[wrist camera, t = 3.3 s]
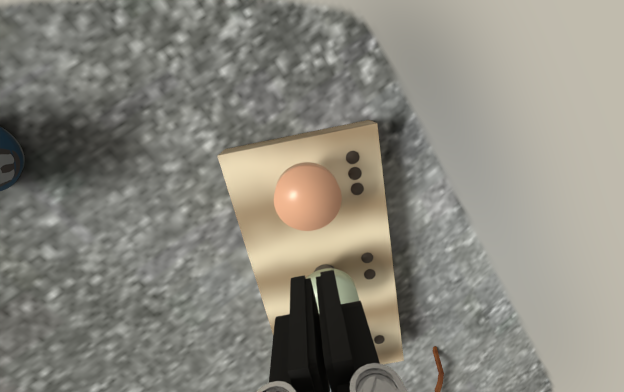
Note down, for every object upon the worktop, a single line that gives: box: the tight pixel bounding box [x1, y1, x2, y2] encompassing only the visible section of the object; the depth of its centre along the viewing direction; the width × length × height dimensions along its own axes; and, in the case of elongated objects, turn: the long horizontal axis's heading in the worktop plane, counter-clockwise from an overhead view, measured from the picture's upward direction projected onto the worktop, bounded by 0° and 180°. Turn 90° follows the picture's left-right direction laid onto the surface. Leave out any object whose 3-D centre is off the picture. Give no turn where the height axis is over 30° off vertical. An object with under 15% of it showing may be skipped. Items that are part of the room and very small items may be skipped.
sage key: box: [306, 268, 359, 311], centre depth 26 cm, size 5×5×2 cm
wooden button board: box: [218, 120, 404, 364], centre depth 31 cm, size 28×14×4 cm, turn 11°
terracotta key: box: [274, 162, 342, 231], centre depth 23 cm, size 5×5×2 cm
